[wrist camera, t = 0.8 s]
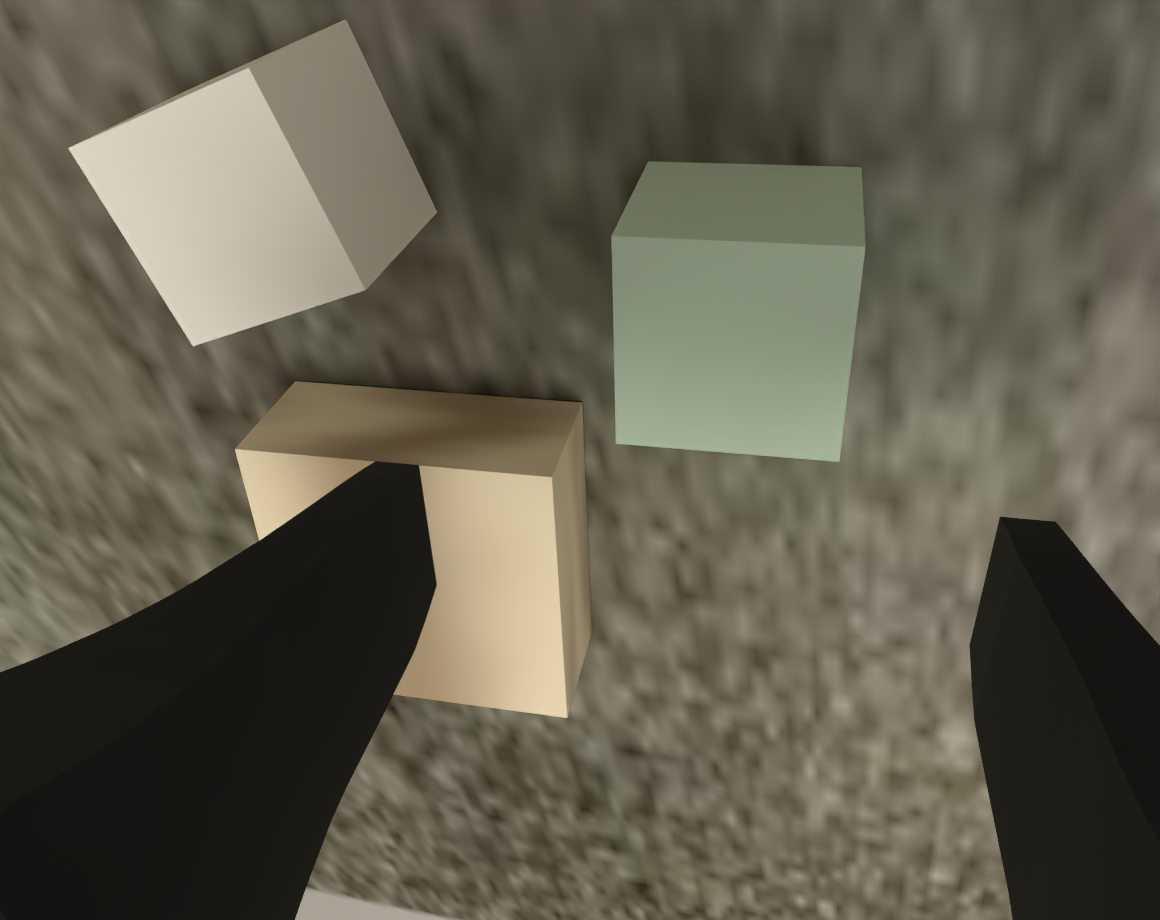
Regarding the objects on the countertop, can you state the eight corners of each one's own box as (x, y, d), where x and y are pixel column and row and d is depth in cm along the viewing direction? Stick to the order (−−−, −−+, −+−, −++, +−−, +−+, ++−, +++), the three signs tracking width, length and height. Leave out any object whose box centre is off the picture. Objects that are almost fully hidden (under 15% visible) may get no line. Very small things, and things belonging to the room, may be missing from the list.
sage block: (861, 165, 19) (865, 246, 16) (839, 356, 21) (839, 461, 18) (649, 160, 20) (611, 235, 17) (649, 344, 22) (615, 443, 19)
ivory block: (347, 18, 20) (248, 67, 16) (438, 211, 21) (365, 290, 18) (188, 89, 21) (68, 148, 18) (285, 264, 23) (192, 346, 20)
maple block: (582, 402, 23) (551, 477, 21) (591, 632, 27) (567, 718, 25) (294, 381, 24) (235, 449, 22) (343, 602, 28) (296, 681, 26)
